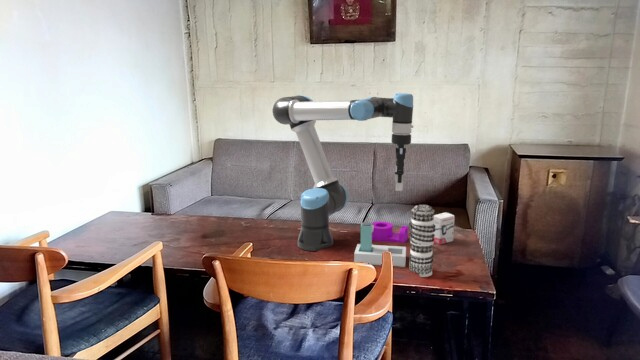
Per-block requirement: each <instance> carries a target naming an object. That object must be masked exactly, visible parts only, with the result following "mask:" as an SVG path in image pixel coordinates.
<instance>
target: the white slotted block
mask: <svg viewBox="0 0 640 360" xmlns="http://www.w3.org/2000/svg"><path fill="white" fill-rule="evenodd" d="M360 250H361V243H357V244H356V247H355V250H354V254H353V255H354V256H353V258H354V259H353V262H363V263H369V264H368V265H370V264H372V266H382V265H381V264H382V253H383V252H385V251H389V252H391V254H392V259H393V266H392V267H399V268H400V267H401V268H405V267H406V261H407V260H406V259H407V258H406V257H407V246H400V245H398V246H397V245H382V244H381V245H379V244H378V245H377V244H372V252H361V251H360Z"/></svg>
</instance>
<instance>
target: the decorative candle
mask: <svg viewBox="0 0 640 360" xmlns="http://www.w3.org/2000/svg"><path fill="white" fill-rule="evenodd" d="M411 213H412V215H411V220H410V222H409V224H408V225H409V232H408V235H409V236H410V237H409V243H410V251H409V252H410V253H408V254H409V257H408V258H409V259H408V261H409V262H408V264H409V265H408V269H409V271H411V272H412V273H414V274H418V277H419V278H428V277H430V276H432V275H433V270H434V268H433V266H434V254H433V253H434V252H433V251H434V250H433V245H434V244H435V243H434V238H433V237H434V236H435V235H434V234H433V232H435V229H434V228H435V225H434V215H435V214H434V213H435V209H433V207H432V206H430V205H428V204H418V205H417V204H416V205H415V206H414V207H413V208H412V209H411Z"/></svg>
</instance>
